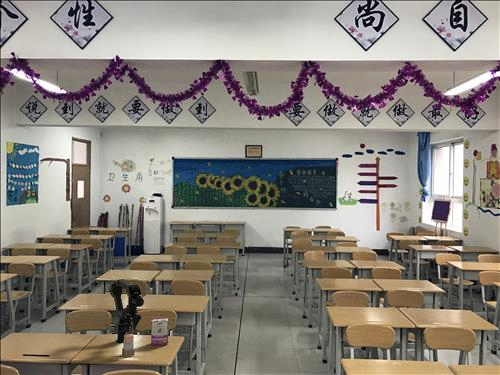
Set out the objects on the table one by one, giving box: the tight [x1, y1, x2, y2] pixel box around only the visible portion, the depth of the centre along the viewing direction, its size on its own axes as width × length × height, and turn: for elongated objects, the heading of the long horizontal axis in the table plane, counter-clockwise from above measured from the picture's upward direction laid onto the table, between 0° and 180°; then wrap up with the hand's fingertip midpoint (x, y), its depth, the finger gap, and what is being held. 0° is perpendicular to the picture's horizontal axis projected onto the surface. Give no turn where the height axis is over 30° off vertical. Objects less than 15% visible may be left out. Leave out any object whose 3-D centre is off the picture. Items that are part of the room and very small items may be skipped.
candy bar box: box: [150, 318, 169, 346], centre depth 295 cm, size 11×5×16 cm, turn 101°
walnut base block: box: [121, 347, 136, 358], centre depth 275 cm, size 6×6×4 cm
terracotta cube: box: [124, 333, 134, 344], centre depth 275 cm, size 4×4×4 cm
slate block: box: [122, 342, 135, 351], centre depth 275 cm, size 5×5×4 cm
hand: (131, 327), depth 288 cm, fingers open, 9 cm apart
